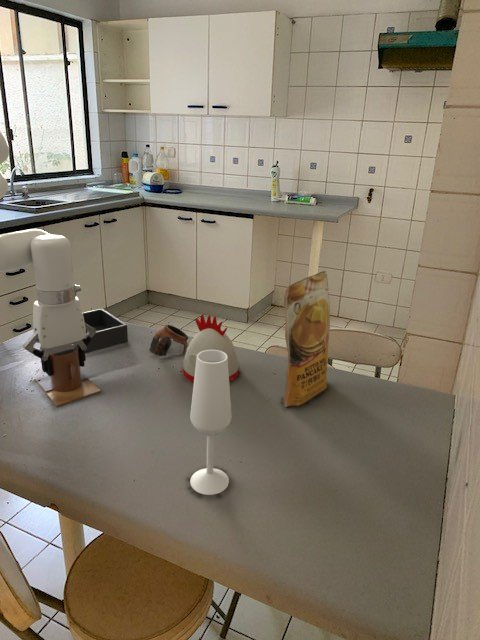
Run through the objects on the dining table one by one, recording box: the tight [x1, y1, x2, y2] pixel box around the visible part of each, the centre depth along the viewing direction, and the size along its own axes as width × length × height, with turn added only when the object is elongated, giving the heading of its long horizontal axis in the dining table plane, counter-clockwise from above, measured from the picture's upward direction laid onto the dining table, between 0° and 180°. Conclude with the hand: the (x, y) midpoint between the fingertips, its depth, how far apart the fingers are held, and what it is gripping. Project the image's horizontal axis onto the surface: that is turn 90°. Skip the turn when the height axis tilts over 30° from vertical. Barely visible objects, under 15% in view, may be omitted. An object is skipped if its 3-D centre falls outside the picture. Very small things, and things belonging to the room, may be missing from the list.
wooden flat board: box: [33, 378, 102, 408], centre depth 107 cm, size 14×10×1 cm
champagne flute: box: [189, 350, 233, 496], centre depth 75 cm, size 7×7×24 cm
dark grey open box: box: [71, 308, 129, 354], centre depth 129 cm, size 15×14×6 cm
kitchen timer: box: [182, 314, 240, 383], centre depth 113 cm, size 14×14×15 cm
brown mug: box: [49, 343, 83, 392], centre depth 104 cm, size 9×7×9 cm
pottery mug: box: [149, 324, 189, 357], centre depth 124 cm, size 12×9×8 cm
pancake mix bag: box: [282, 270, 331, 408], centre depth 103 cm, size 7×19×28 cm, turn 137°
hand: (64, 368), depth 105 cm, fingers closed on brown mug, 6 cm apart
